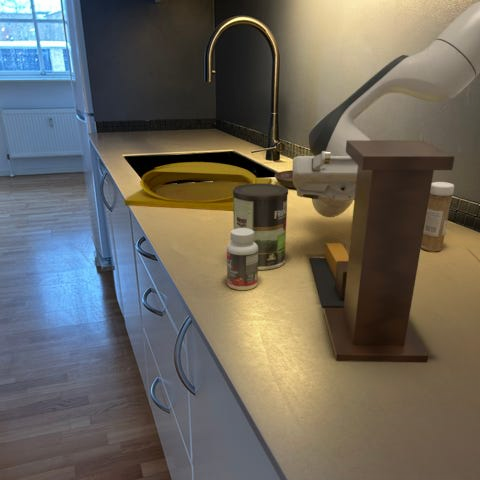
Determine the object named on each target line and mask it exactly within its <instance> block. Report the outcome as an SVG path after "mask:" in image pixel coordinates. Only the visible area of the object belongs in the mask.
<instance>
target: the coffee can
mask: <svg viewBox="0 0 480 480" xmlns="http://www.w3.org/2000/svg"><path fill="white" fill-rule="evenodd" d="M288 195H289V188H288V187H285V186H282V185H281V184H280V185H279V184H274V183H271V184H264V183H256V184H250V183H245V184H241V185H237V186H235V187H233V188H232V196H233V212H232V213H233V229H237V228H248V229H251V230H253V231H254V241H253V242H255V243H256V244H257V245H258V271H268V270H274V269H277V268H281V267H282V266H284V264H285V263H286V238H287V217H288V214H287V213H288Z"/></svg>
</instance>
